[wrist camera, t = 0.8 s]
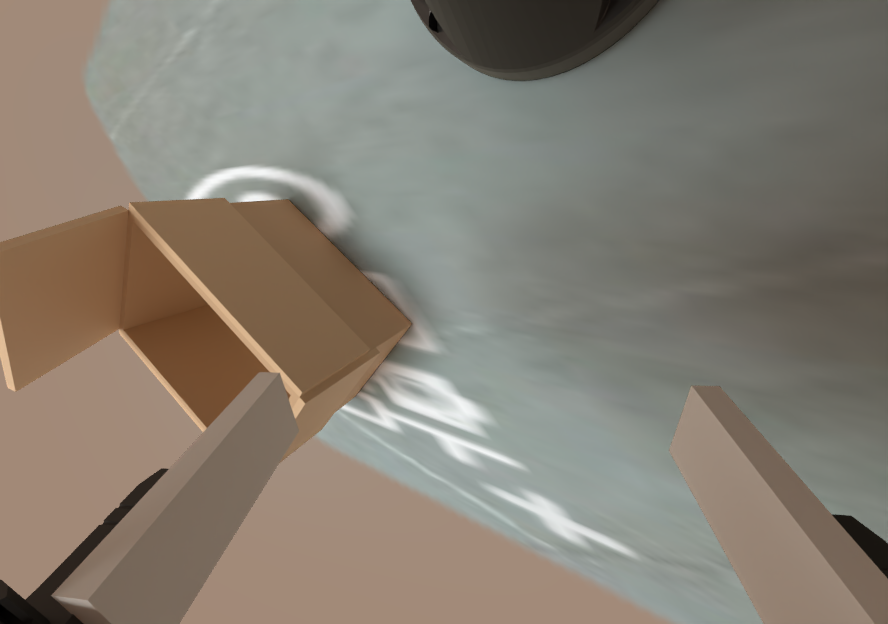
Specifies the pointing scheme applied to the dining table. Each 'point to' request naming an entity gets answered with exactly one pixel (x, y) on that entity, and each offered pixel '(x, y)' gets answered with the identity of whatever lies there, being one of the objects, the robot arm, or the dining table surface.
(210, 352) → the carton
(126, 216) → the flap
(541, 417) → the dining table surface
